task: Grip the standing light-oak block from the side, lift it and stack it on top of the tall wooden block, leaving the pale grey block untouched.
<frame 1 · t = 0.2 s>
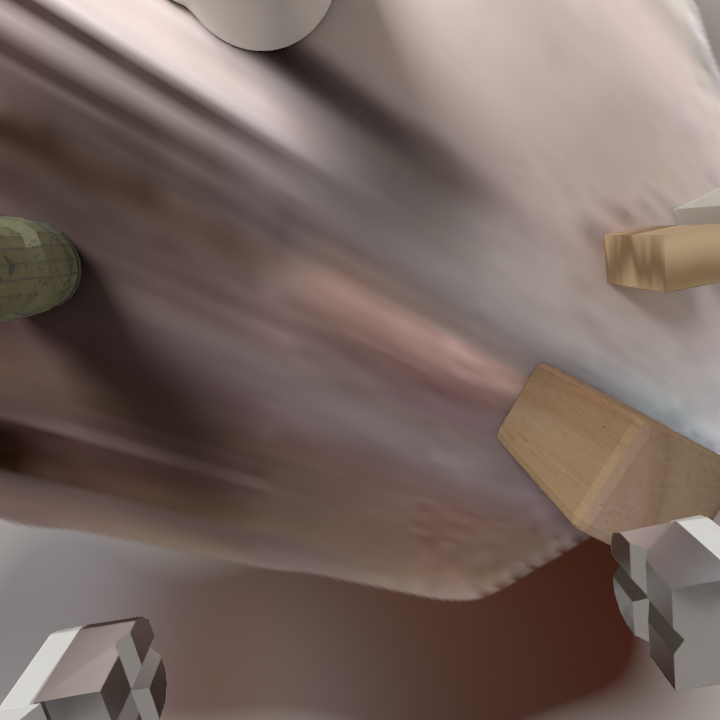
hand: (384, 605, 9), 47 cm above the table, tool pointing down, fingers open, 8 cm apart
grey block: (701, 221, 56), on the table
block: (550, 416, 60), on the table
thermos: (36, 266, 53), on the table
oak block: (628, 255, 56), on the table
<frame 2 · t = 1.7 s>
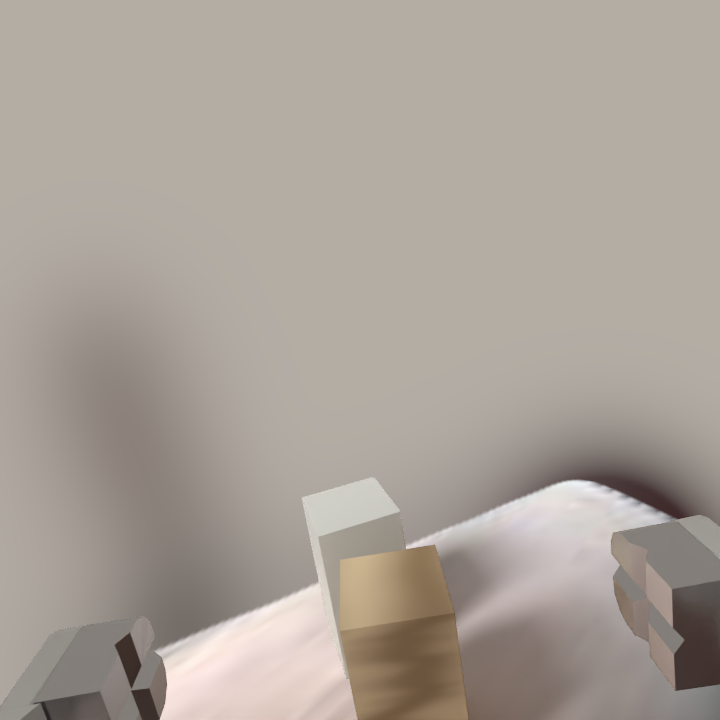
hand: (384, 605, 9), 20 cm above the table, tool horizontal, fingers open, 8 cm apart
grey block: (372, 637, 36), on the table
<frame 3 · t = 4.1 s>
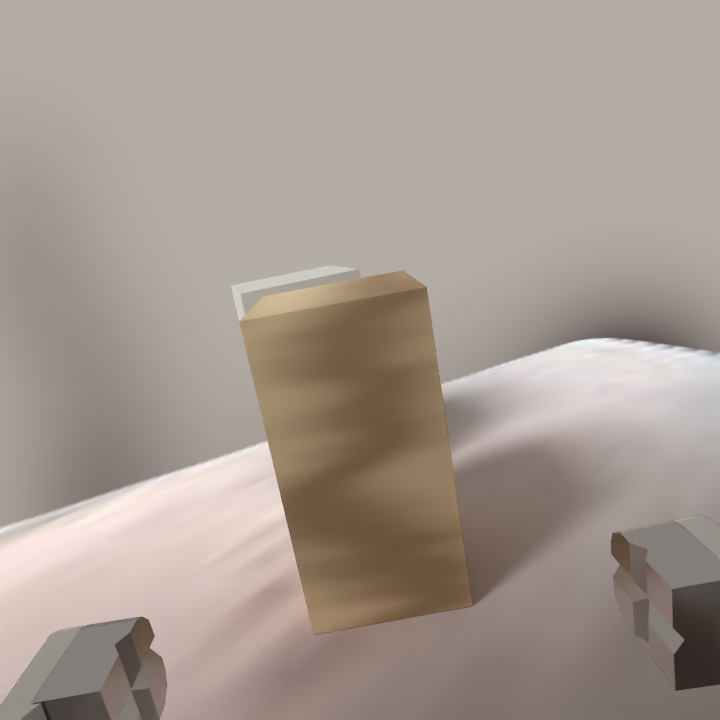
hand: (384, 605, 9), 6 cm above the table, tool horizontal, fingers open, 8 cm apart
grey block: (331, 476, 27), on the table
oak block: (386, 570, 19), on the table
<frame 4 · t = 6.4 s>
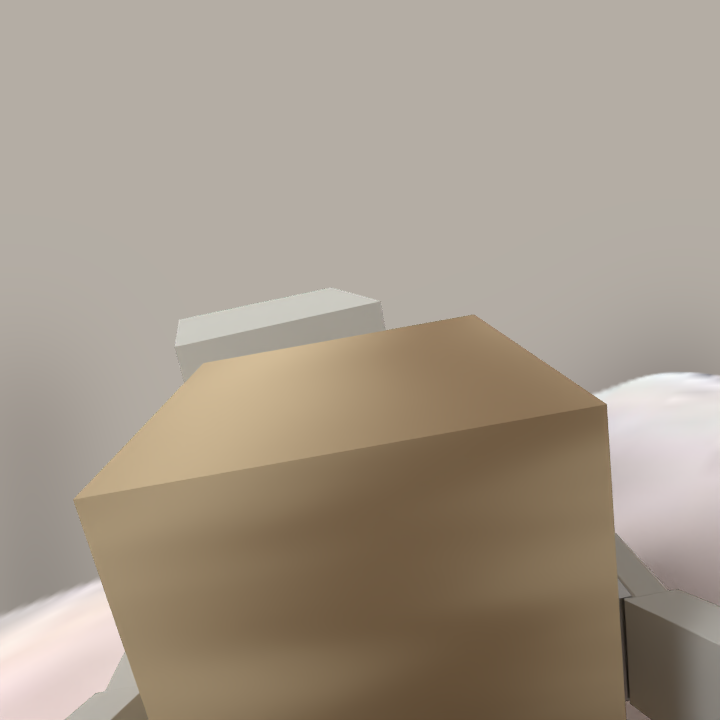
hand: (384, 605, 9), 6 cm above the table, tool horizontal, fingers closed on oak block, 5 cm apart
grey block: (333, 609, 18), on the table
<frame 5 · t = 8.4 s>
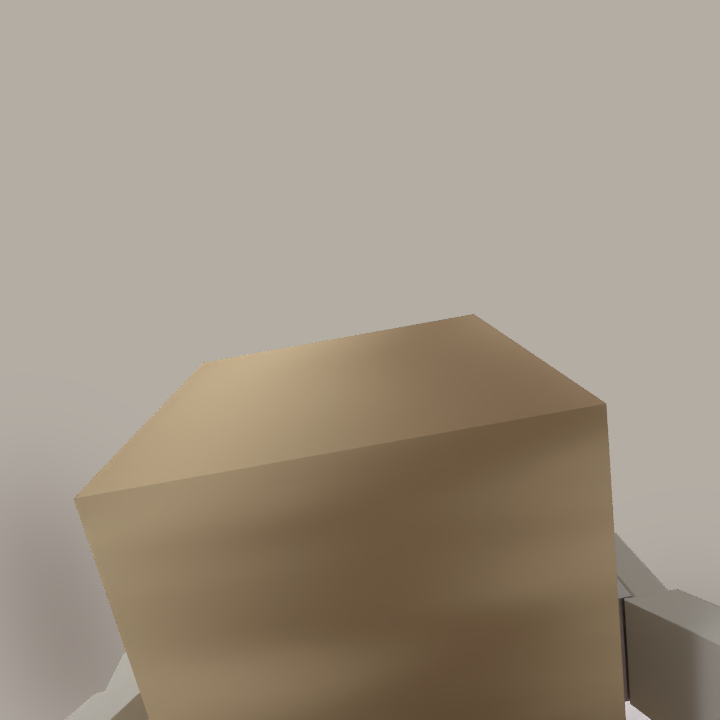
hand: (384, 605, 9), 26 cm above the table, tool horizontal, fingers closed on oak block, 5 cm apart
when the fingers open (26 cm above the table, at t = 10.7 s): oak block drops 1 cm, resting on block.
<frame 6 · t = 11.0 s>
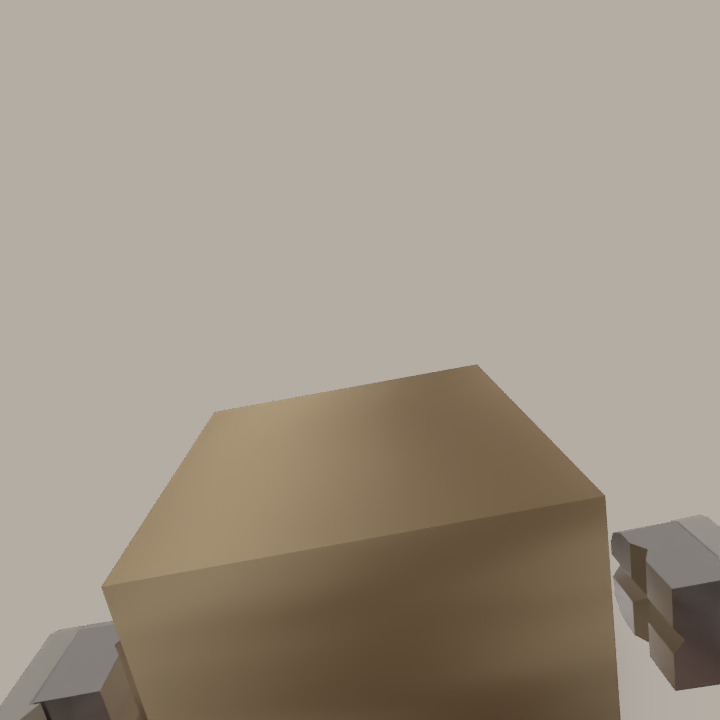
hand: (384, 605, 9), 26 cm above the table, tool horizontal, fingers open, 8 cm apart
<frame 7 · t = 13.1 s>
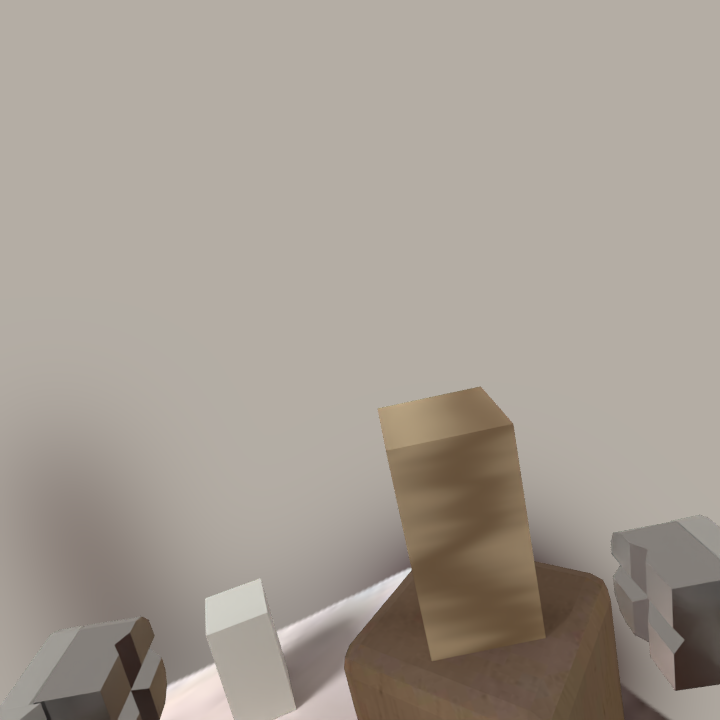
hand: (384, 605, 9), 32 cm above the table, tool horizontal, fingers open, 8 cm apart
grey block: (264, 699, 48), on the table
oak block: (474, 609, 26), point 20 cm above the table, touching block
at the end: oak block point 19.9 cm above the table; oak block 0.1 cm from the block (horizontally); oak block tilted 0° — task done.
